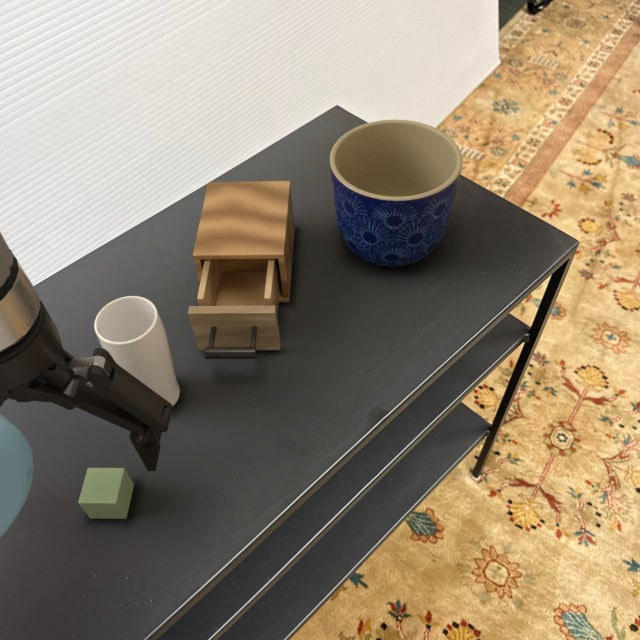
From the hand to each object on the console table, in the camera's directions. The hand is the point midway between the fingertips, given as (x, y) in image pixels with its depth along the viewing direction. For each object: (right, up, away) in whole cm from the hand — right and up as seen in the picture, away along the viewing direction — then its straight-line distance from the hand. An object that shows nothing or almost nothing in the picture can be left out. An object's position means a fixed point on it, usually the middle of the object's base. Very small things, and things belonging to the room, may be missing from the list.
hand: (86, 458), depth 63 cm
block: (0, -6, +7) cm, 10 cm away
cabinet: (+13, +22, +30) cm, 39 cm away
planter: (+33, +25, +31) cm, 52 cm away
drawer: (+13, +13, +22) cm, 28 cm away
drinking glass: (+3, +4, +16) cm, 17 cm away
